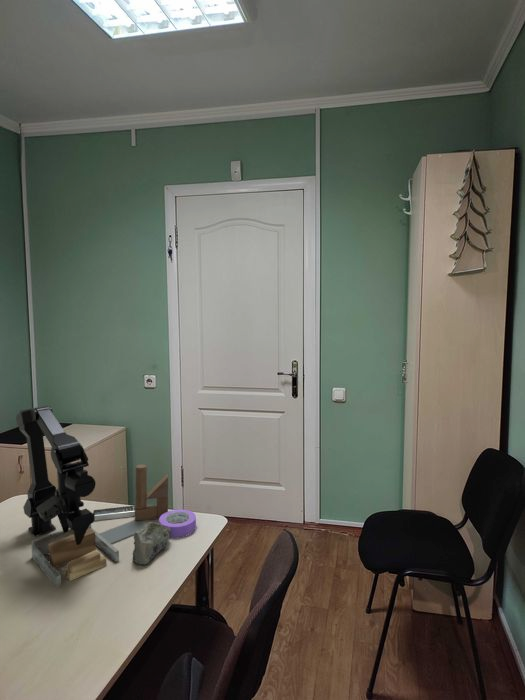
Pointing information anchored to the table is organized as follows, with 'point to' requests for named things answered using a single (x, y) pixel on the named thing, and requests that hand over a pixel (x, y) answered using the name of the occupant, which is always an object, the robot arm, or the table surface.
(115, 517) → the multiport hub
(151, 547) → the mineral rock
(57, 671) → the table surface
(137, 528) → the rubber mat
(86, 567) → the offcut stack
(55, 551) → the walnut panel
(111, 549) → the frame
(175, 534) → the masking tape
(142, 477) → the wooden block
